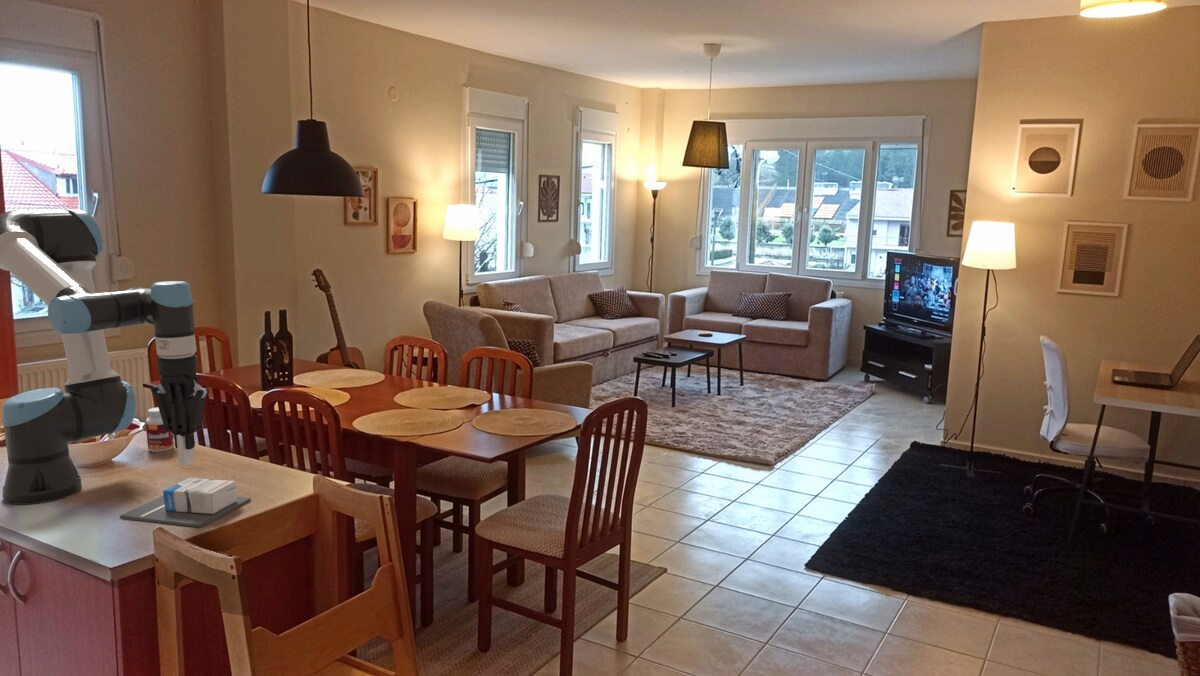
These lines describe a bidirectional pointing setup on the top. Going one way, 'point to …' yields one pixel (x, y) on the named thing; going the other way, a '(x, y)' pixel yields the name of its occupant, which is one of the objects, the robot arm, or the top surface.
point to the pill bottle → (157, 433)
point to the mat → (177, 513)
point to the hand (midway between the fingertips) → (186, 463)
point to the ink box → (200, 496)
